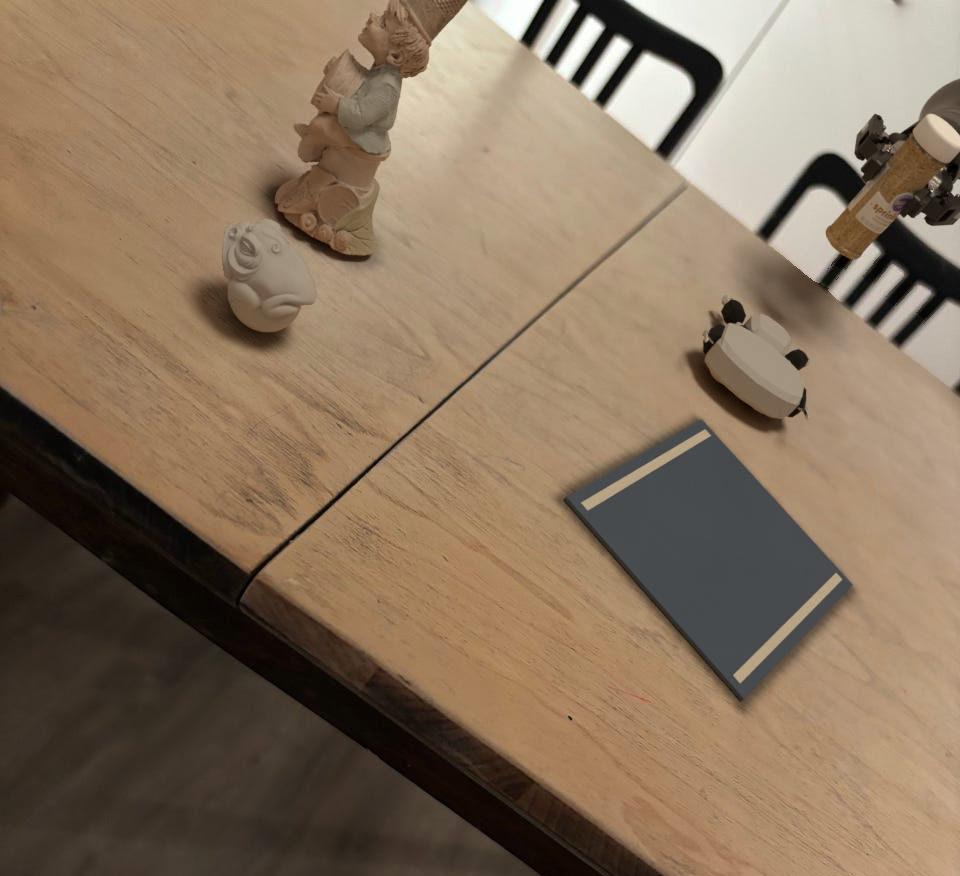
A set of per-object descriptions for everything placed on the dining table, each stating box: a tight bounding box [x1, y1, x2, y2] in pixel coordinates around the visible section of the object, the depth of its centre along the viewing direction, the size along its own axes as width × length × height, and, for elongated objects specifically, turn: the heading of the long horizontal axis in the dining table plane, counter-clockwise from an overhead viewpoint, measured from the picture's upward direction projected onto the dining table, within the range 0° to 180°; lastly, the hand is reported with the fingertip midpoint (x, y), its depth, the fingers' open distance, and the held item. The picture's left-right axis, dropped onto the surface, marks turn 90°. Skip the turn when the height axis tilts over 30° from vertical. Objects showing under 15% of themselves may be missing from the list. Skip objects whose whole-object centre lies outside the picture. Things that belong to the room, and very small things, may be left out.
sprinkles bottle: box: [825, 114, 960, 260], centre depth 95 cm, size 5×5×14 cm
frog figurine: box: [221, 218, 318, 333], centre depth 66 cm, size 6×7×7 cm
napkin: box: [563, 418, 853, 702], centre depth 80 cm, size 22×20×1 cm
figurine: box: [274, 0, 469, 256], centre depth 71 cm, size 9×8×20 cm
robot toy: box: [701, 294, 811, 421], centre depth 96 cm, size 12×4×15 cm
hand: (890, 189), depth 92 cm, fingers closed on sprinkles bottle, 4 cm apart
